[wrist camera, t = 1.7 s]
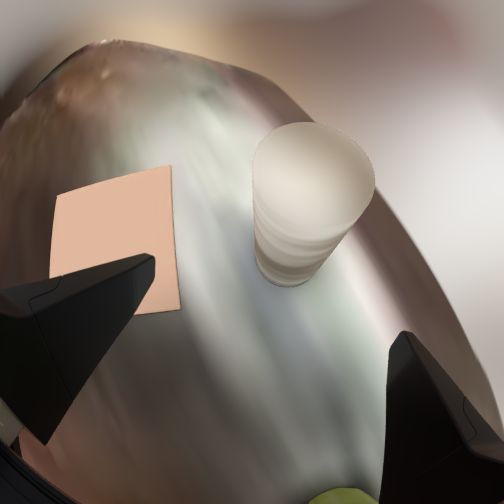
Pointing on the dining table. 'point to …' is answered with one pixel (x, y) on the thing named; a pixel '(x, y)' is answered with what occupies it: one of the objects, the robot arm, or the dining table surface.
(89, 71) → the dining table surface
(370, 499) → the plant pot
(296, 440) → the dining table surface
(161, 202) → the placemat
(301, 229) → the white cylinder
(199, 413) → the dining table surface
